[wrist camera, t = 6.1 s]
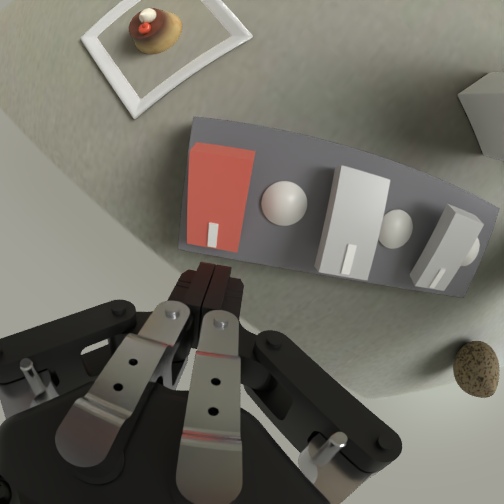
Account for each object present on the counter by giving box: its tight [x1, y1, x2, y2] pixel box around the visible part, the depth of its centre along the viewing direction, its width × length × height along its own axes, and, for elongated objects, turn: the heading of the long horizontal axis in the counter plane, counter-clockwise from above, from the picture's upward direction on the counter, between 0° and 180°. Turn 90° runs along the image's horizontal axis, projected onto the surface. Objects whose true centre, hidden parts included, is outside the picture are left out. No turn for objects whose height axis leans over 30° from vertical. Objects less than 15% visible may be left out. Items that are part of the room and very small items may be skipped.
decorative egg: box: [453, 341, 499, 398], centre depth 26 cm, size 7×7×10 cm
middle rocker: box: [314, 165, 390, 280], centre depth 18 cm, size 4×7×2 cm, turn 170°
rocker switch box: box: [178, 117, 500, 298], centre depth 21 cm, size 28×10×4 cm, turn 80°
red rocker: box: [187, 142, 256, 252], centre depth 18 cm, size 4×7×2 cm, turn 170°
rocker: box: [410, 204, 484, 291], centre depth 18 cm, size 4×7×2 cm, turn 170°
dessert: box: [80, 0, 253, 119], centre depth 15 cm, size 12×12×5 cm
